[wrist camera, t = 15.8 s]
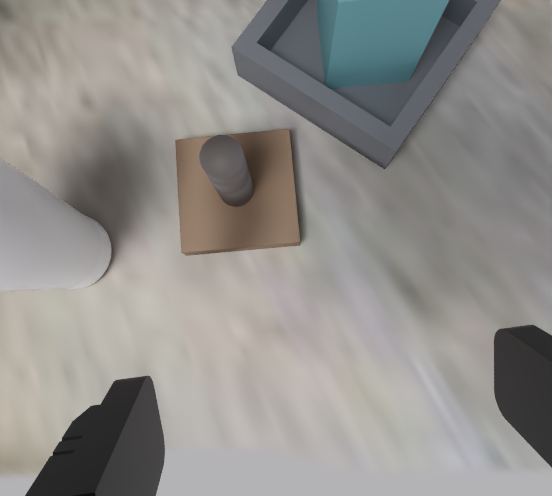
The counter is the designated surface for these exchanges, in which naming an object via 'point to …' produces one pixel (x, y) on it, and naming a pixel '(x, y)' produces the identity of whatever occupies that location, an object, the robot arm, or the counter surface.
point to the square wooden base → (236, 192)
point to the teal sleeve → (374, 39)
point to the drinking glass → (46, 238)
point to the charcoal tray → (359, 99)
